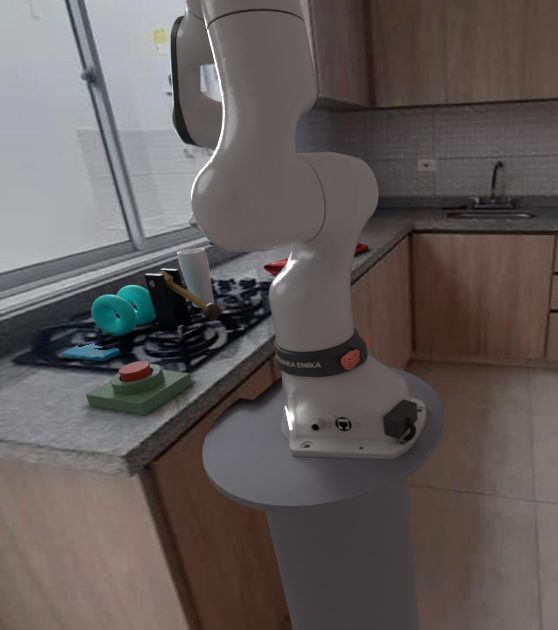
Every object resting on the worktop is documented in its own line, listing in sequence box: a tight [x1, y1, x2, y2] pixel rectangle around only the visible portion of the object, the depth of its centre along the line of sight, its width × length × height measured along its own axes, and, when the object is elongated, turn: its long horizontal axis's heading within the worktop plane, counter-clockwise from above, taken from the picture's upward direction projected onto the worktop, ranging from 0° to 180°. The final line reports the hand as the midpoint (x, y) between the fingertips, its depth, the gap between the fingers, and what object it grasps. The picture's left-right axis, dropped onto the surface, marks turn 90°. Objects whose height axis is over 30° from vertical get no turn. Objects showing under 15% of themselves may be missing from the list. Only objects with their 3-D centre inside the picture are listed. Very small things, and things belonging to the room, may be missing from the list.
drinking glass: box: [176, 247, 215, 309], centre depth 116 cm, size 7×7×15 cm
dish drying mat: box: [262, 241, 369, 276], centre depth 159 cm, size 16×41×4 cm, turn 154°
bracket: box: [143, 268, 208, 345], centre depth 98 cm, size 8×9×15 cm
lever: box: [155, 271, 222, 321], centre depth 95 cm, size 16×4×4 cm, turn 73°
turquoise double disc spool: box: [90, 284, 156, 337], centre depth 103 cm, size 10×10×10 cm
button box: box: [85, 363, 193, 416], centre depth 75 cm, size 12×10×4 cm
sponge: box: [61, 342, 122, 362], centre depth 92 cm, size 2×12×6 cm
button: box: [118, 360, 152, 382], centre depth 74 cm, size 4×4×2 cm
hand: (214, 244), depth 93 cm, fingers closed
